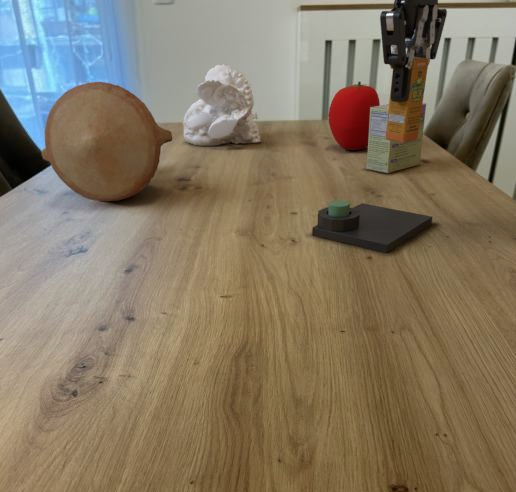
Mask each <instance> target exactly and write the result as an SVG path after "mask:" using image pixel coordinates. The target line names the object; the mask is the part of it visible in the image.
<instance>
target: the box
mask: <svg viewBox="0 0 516 492" xmlns="http://www.w3.org/2000/svg"><path fill="white" fill-rule="evenodd" d="M388 109H389V103H388V104H380V106H375V107H370V122H369V139H368V146H367V156H366V170H369V171H374V172H378V173H384V174H390V173H393V172H397V171H401V170H404V169H408V168H411V167H416V166H420V163H421V155H422V146H423V138H424V137H423V136H424V129H425V119H426V110H427V102H423V104H422V110H421V117H420V124H419V131H418V138H417V139H416V140H412V141H409V142H405V143H401V142H395V141H390V140H386V138H385V137H386V127H387V118H388Z"/></svg>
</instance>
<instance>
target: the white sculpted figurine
mask: <svg viewBox="0 0 516 492" xmlns="http://www.w3.org/2000/svg"><path fill="white" fill-rule="evenodd" d="M195 93H196V95H197V96H198V97H199V98H200V99H197V100H196V101H195V102H194V103H192V104H191V105H190V106H189V107H188V109H187V111H186V112H185V114H184V117H183V121H182V122H181V124H182V126H183V138H184V140H185V141H186V142H187V143H188V144H191V145H194V146H199V147H210V146H211V147H213V146H214V147H215V146H220V145H225V144H230V143H232V144H235V145H238V144H259V143H261V142H262V141H261V136H260V135H261V133H260V129H259V127H258V125H257V123H256V122H255V121H254V120H255V119H256V120H258V119H259V118H258V114H257V112H255V113H254V114H253V113H252V109H253V108H254V104H255V103H254V101H255V100H254V96H253V91H252V87H251V84H250V83H249V80H248V79H247V78H246V77H245V75H244V74H243V73H242V72H240V71H239V70H237V69H233V68H232V67H231V66H230V65H229V64H227V65H226V64H225V63H222V64H217V65H214V67H211V68H210V69H209V70H208V71H207V72H206V75H205V77H204V81H203V82H200V83H199V84H198V85H196V89H195Z"/></svg>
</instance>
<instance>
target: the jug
mask: <svg viewBox="0 0 516 492" xmlns="http://www.w3.org/2000/svg"><path fill="white" fill-rule="evenodd" d="M172 141H173V134H172V131H170V130H169V129H165V128H163V127H161V126H160V125H158V123H157V122H156V120H155V117H154V116H153V114H152V112H151V111H150V109H149V108H148V106H147V105H146V104H145V102H143V101H142V100H141V99H140V98H139V97H138V96H137V95H135V94H134V93H133V92H131V91H129V90H128V89H126V88H124V87H122V86H120V85H117V84H113V83H111V82H104V81H91V82H86V83H83V84H79V85H75V86H74V87H72V88H70V89H68V90H67V91H65V92H64V93H62V94H61V96H60V97H59V98H57V100H56V101H55V102H54V104H53V105H52V106H51V108H50V111H48V115H47V117H46V122H45V127H44V146H45V147H44V148H43V149H42V150H41V157H42V159H43V160H44V161H47V162H49V163H50V166H51V168H52V169H53V171H54V172H55V175H57V177H58V178H59V179H60V181H62V183H64V184H65V186H67V187H68V188H69V189H70V190H72V191H73V192H74V193H75V194H78V195H80V196H81V197H83V198H86V199H89V200H93V201H98V202H118V201H122V200H125V199H129V198H131V197H133V196H135V195H137V194H138V193H140V192H141V191H142V190H143V189H144V188H145V187H146V186H147V185H149V184H150V182H151V181H152V179H153V178H154V177H155V175H156V172H157V170H158V168H159V164H160V157H161V149H162V148H161V147H162V146H163V145H164V144H167V143H171V142H172Z"/></svg>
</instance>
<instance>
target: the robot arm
mask: <svg viewBox="0 0 516 492" xmlns="http://www.w3.org/2000/svg"><path fill="white" fill-rule="evenodd" d="M438 6H439V0H394V2H393V7H392V8H391V10H382V11H381V13H380V15H379V21H380V22H379V23H380V33H381V44H382V45H381V46H382V57H383V64H384V65H389V67H390V69H391V70H392V73H393V75H391V82H392V87H391V86H390V91H391V100H392V101H393V102H405V101H407V100H408V98H409V90H410V80H411V70H408V69H411V67H412V63H413V58H414V57H421V58H426V59H428V60H429V62H428V66H429V65H430V62H431V60H435V59H436V58H437V54H438V50H439V46H440V42H441V38H442V34H443V31H444V27H445V23H446V19H447V15H448V10H447V8H439V7H438Z"/></svg>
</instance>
